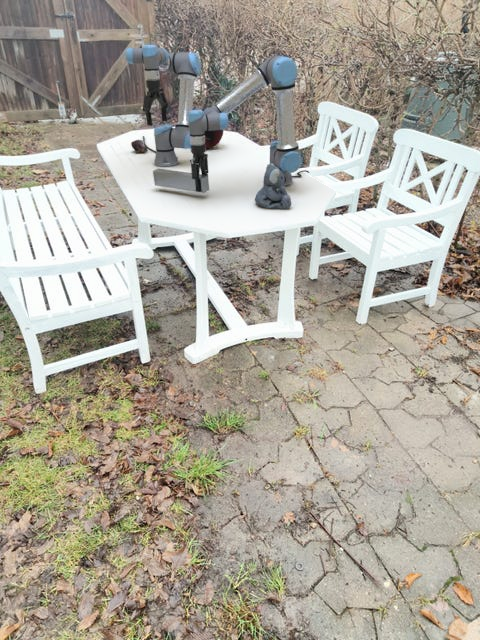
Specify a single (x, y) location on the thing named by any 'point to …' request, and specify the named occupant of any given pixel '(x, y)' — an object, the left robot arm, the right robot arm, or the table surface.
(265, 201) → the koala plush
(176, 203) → the table surface
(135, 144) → the rock
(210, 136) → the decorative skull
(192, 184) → the bar
